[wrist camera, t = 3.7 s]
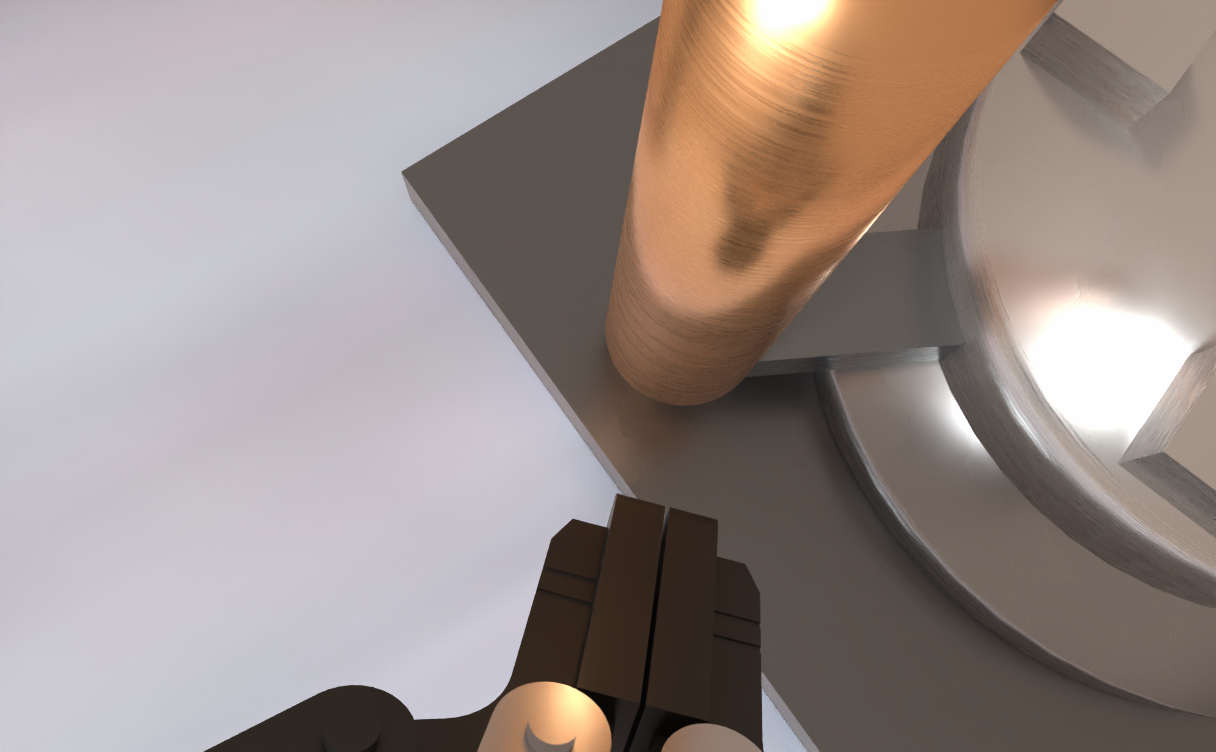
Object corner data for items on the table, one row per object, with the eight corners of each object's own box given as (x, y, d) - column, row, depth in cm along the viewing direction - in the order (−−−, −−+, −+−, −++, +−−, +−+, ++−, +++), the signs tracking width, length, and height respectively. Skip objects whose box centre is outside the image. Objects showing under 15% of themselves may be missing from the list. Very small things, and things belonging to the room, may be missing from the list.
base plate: (411, 199, 22) (389, 139, 20) (1149, -251, 27) (1220, -353, 24) (1131, 1200, 18) (1242, 1314, 15) (1854, 450, 23) (2042, 428, 20)
